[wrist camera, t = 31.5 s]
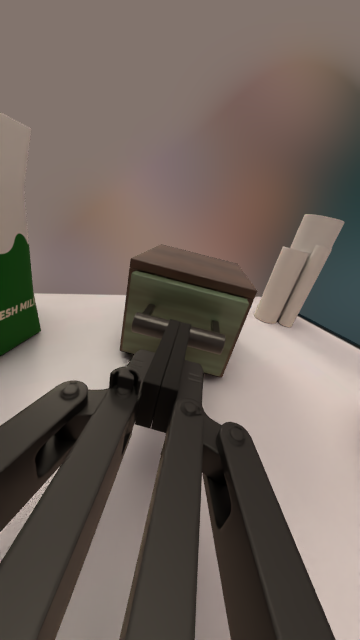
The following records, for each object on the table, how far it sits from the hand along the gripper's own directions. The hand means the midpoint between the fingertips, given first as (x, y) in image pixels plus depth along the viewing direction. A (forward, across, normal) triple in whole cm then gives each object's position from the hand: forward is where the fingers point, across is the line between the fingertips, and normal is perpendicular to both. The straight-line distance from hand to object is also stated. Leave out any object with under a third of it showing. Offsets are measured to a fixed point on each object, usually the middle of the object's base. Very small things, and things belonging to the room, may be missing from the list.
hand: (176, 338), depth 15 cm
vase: (+31, +19, -7) cm, 37 cm away
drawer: (+9, 0, -6) cm, 10 cm away
